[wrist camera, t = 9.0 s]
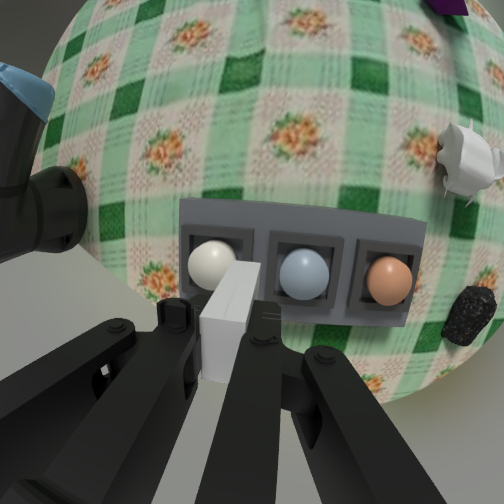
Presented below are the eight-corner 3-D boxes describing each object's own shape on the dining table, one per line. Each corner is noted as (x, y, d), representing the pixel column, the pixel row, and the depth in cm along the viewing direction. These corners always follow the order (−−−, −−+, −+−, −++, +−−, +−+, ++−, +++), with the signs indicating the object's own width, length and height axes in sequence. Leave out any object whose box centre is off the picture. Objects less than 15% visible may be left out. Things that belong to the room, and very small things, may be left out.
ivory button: (195, 280, 32) (188, 287, 30) (195, 237, 31) (187, 242, 29) (237, 285, 32) (233, 293, 29) (239, 241, 31) (235, 246, 28)
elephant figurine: (419, 193, 31) (454, 196, 22) (428, 113, 28) (460, 97, 19) (468, 211, 30) (504, 219, 21) (475, 136, 27) (511, 129, 18)
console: (190, 296, 38) (176, 312, 33) (191, 197, 35) (174, 199, 30) (394, 314, 35) (407, 332, 30) (413, 218, 31) (432, 224, 26)
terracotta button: (361, 296, 30) (366, 304, 28) (368, 253, 29) (375, 259, 26) (399, 298, 29) (406, 306, 27) (407, 257, 28) (416, 263, 26)
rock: (436, 336, 35) (451, 355, 29) (458, 278, 32) (478, 292, 27) (462, 339, 34) (478, 356, 29) (484, 285, 32) (504, 298, 26)
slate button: (278, 289, 31) (277, 297, 29) (282, 245, 30) (281, 250, 28) (322, 293, 31) (325, 301, 28) (328, 249, 29) (332, 255, 27)
